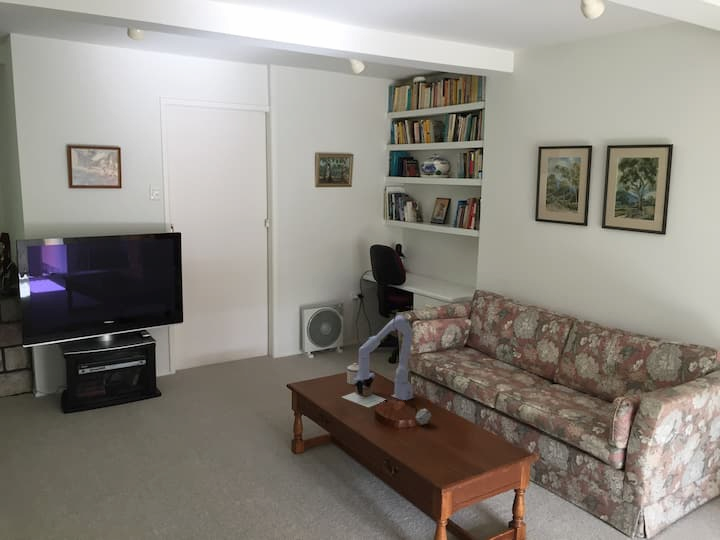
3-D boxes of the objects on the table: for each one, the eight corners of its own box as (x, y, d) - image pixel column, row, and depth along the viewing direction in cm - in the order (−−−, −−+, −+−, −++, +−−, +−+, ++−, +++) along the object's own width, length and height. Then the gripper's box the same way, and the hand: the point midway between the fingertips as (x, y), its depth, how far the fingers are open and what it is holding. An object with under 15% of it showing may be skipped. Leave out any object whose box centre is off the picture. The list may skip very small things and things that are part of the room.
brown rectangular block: (372, 394, 333) (372, 388, 332) (365, 397, 329) (365, 390, 329) (361, 391, 338) (361, 384, 338) (355, 393, 335) (355, 386, 334)
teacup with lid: (365, 384, 351) (365, 364, 349) (351, 386, 347) (351, 366, 345) (356, 377, 362) (356, 358, 360) (341, 380, 358) (342, 360, 356)
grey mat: (388, 400, 326) (388, 399, 326) (368, 408, 316) (368, 407, 316) (360, 391, 340) (360, 389, 340) (341, 398, 330) (341, 396, 329)
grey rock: (419, 432, 297) (407, 416, 295) (425, 420, 303) (413, 405, 302) (433, 428, 291) (421, 412, 289) (439, 416, 297) (427, 400, 296)
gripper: (367, 363, 339) (367, 387, 341) (349, 369, 329) (348, 394, 331) (377, 366, 334) (377, 390, 337) (358, 372, 324) (358, 397, 326)
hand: (363, 392), depth 334 cm, fingers closed on brown rectangular block, 5 cm apart
